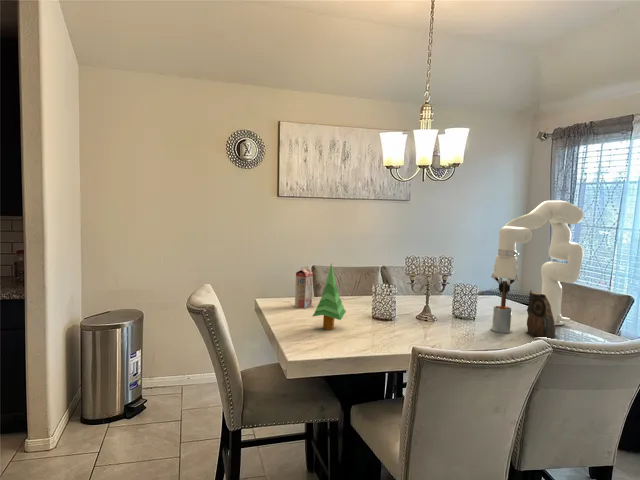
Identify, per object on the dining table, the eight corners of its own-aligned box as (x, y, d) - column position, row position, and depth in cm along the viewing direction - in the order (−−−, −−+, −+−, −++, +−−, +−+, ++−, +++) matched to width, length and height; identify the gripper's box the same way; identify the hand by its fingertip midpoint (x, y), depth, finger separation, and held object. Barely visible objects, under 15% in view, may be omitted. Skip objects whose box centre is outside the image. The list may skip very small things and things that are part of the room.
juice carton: (311, 306, 249) (313, 266, 247) (304, 308, 243) (306, 267, 242) (301, 304, 252) (303, 265, 251) (294, 306, 247) (296, 266, 245)
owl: (546, 340, 199) (549, 296, 198) (517, 334, 208) (520, 291, 207) (556, 336, 208) (560, 293, 207) (528, 329, 217) (531, 288, 216)
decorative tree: (348, 332, 200) (351, 265, 198) (313, 332, 197) (316, 264, 195) (342, 324, 213) (345, 261, 211) (309, 324, 211) (311, 260, 208)
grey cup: (511, 330, 215) (513, 307, 214) (508, 334, 208) (509, 310, 207) (494, 327, 219) (495, 305, 218) (490, 330, 213) (491, 307, 212)
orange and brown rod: (507, 320, 214) (510, 280, 212) (505, 322, 211) (508, 281, 209) (498, 319, 216) (501, 279, 215) (496, 320, 213) (499, 280, 211)
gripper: (526, 254, 210) (523, 293, 211) (491, 251, 218) (488, 289, 220) (523, 255, 203) (520, 296, 205) (487, 252, 212) (484, 291, 214)
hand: (504, 292), depth 212 cm, fingers closed on orange and brown rod, 2 cm apart
